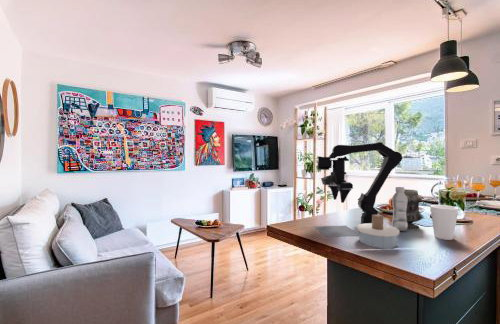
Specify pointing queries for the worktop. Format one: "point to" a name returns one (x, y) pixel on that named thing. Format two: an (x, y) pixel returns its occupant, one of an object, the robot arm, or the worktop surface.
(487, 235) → the worktop surface
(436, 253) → the worktop surface
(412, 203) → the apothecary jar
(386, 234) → the lid
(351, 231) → the mat
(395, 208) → the plastic bottle
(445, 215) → the foam cup
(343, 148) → the robot arm
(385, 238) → the dish
